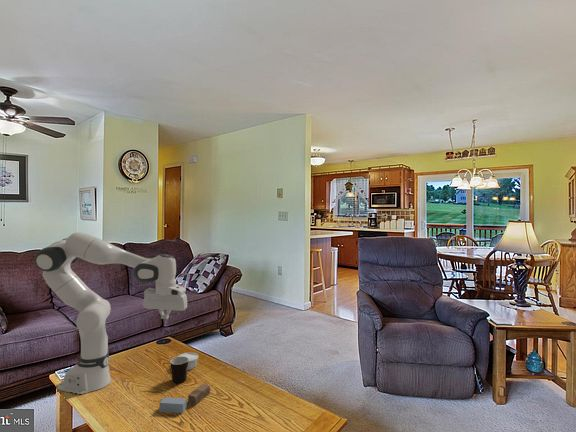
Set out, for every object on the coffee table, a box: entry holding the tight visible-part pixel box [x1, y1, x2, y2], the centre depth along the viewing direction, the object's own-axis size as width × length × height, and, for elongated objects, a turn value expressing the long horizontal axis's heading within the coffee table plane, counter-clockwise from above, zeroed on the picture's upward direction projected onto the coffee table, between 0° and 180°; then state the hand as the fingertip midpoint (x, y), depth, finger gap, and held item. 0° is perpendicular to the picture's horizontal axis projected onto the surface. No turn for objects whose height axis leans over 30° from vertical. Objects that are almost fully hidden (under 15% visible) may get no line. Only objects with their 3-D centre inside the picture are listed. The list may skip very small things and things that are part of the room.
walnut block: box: [187, 383, 211, 406], centre depth 144 cm, size 4×4×10 cm
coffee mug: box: [169, 356, 189, 385], centre depth 160 cm, size 12×9×10 cm
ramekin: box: [176, 352, 199, 371], centre depth 174 cm, size 11×11×5 cm
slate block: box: [159, 396, 188, 414], centre depth 136 cm, size 4×4×10 cm
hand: (164, 318), depth 151 cm, fingers closed
